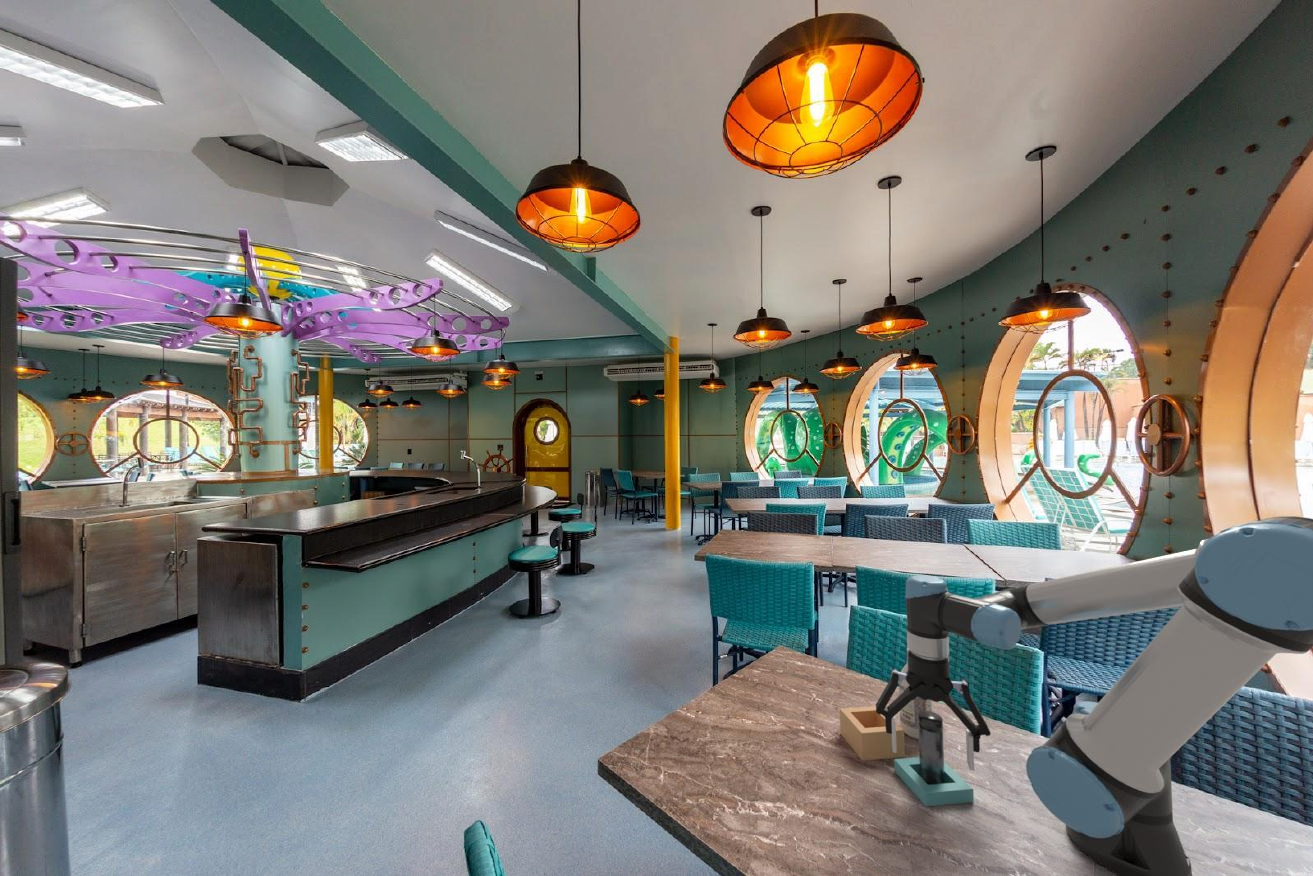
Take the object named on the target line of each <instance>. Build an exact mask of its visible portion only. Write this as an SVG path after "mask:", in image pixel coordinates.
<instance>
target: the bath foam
mask: <svg viewBox="0 0 1313 876" xmlns="http://www.w3.org/2000/svg"><path fill="white" fill-rule="evenodd" d="M908 650H909V649H908V647H906V661H907V662H906V664H905V665H904V666H903V668H902V669H901V671H900V672H902V673H905V674H906V673H907V671H908V653H907V652H908ZM908 686H909V684H908V683H907V681H906V680H903V681H902V683H898V697H899V696H900V695H901V694H902V693H903V692H904V691H905V690H906V688H907V687H908ZM932 702H933V701H932V700H924V699H921V698H920V697H918V696H917V697H916V698H915V699H914V700H911V701H910V702H909V703H908V704H907V705H906V706H905V707H904V708H902V709H901V710H900V711H899V723H900V724H899V726H900V727H901V728H902V729H903V730H904V735H907V736H908V737H910V738H913V739H915V740H916V739H917V740H919V736H918V712H920V711H930V712H933V705H932Z"/></svg>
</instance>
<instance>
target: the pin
mask: <svg viewBox="0 0 1313 876" xmlns="http://www.w3.org/2000/svg"><path fill="white" fill-rule="evenodd" d="M943 725H944V723H943V718H942V716H941V715H939V714H938V713H936V712H933V711H932V712H930V711H920V712H918V736H919V739H918V757H919V767H920V777H921V778H922V779H923V780H924V781H925V782H926V783H927V784H928V785H933V784H945V779H944V762H945V756H944V755H945V753H944V730H943V729H944V727H943Z"/></svg>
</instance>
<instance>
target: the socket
mask: <svg viewBox="0 0 1313 876" xmlns="http://www.w3.org/2000/svg"><path fill="white" fill-rule="evenodd" d="M839 722H840V725H839V727H840V730H839V731H840V735H841V736H842V737H843V739H844V740H845V741H846V742H847V744H848V746H850V747H851V749H852V750H853V751H854V752H855V754H857V756H858V757H859V759H861V760H862V761H874V760H884V759H885V760H887V759H888V760H889V759H902V758H905V757H906V751H905V750H906V749H905V747H906V746H905V733H904V730H903V729H902V728H901V727H900V724H898V723H897V722H896V749H897V753H894V752H893V751H892V734H889V733H887V732H886V724H885V717H884V716H883V715H881V714H878V713H877V712H876V705H873V706H861V707H860V706H857V707H847V708H846V707H842V708H839Z"/></svg>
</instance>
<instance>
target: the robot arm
mask: <svg viewBox="0 0 1313 876" xmlns="http://www.w3.org/2000/svg"><path fill="white" fill-rule="evenodd" d="M948 589H949V588H948V584H947V582H946V581H945V580H944V579H942V578H940V577H936V576H934V575H933V576H931V575H926V574H925V575H923V574H921V575H920V574H919V575H917V574H916V575H911V576H909V577H908V578H907V579H906V580H905V596H904V598H905V608H906V609H905V611H906V643H907V644H906V645H907V646H906V648H908V649H909V650H908V652H907V651H906V654H907V653H908V671H907V673H906V674H905V673H902V672H901V671H899V670H898V669H897V668H892V669H891V673H890V674H891V675H890V678H889V680H888V682H887V684H886V686H885V688H884V690H883V691H882V693H881V695H880V697H879V698H878V700H877V702H876V704H875V706H876V712H877V713H878V714H881V715H883V716H884V717H885V724H886V732H887V733H889V734H892V751H893V752H894V753H897V749H896V723H897V722H896V721H897V720H896V715H897V714H898V713H900V710H901V709H902V708H904V707H905V706H906V705H907V704H908V703H909V702H910V701H911V700H914V699H915V698H916V697H917V696H918V697H920V698H921V699H924V700H932V702H934V703H935V702H936V703H939V702H941V701H943V703H944V704H945V705H946V706H947V707H948V708H949V709H950V710H951V711H952V712H953V713H954V714H955V716H956V717H957V718H958V719H959V721H961V723H962V724H963V725H964V726H965V728H966V729H965V734H966V735H965V736H966V737H965V738H966V739H965V741H966V745H965V746H966V763H967V765H968V769H969V771H973V772H974V771H975V753H978V754H979V753H980V751H981V748H980V747H981V746H980V744H981V743H980V740H981V736H987V737H990V736H991V731H990V728H989V726H988V724H987V723H986V721H985V719H984V717H983V715H982V714H981V712H980V710H979V708H978V707H977V705H976V703H975V701H974V699H973V698H972V695H971V693H970V692H971V691H970V687H969V684H968V682H967V680H966V679H960V680H959V681H958V680H957V681H955V680H951V670H950V669H951V668H950V667H951V666H950V658H949V655H950V641H949V638H950V637H949V633H951V634H954V635H956V636H959V637H963V638H965V639H968V640H971V641H974V642H977V643H980V644H982V645H984V646H987V647H993V648H996V649H1000V650H1004V651H1006V650H1012V649H1014V648H1015V647H1016V644H1017V643H1018V642H1019V641H1020V639H1021V635H1022V630H1025V629H1031V628H1040V627H1046V626H1050V625H1056V624H1065V623H1071V622H1078V621H1085V620H1092V619H1099V618H1100V619H1101V618H1106V617H1112V616H1120V615H1127V614H1129V615H1130V614H1135V613H1136V614H1137V613H1143V612H1149V611H1156V610H1163V609H1171V608H1177V607H1178V608H1179V607H1180V608H1179V609H1178V610H1177V611H1176V613H1175V614H1174V615H1173V616H1172V617H1171V618H1170V619H1169V621H1168V622H1167V623H1166V624H1165V625H1164V626H1163V628H1162V629H1161V630H1160V631H1159V632H1158V634H1156V636H1155V637H1154V638H1153V639H1152V640H1151V642H1149V644H1148V645H1147V646H1146V648H1144V649H1143V651H1141V653H1140V655H1138V656H1137V657H1136V659H1135V660H1133V662H1132V664H1131V665H1130V666H1129V667H1128V668H1127V669H1126V670H1125V672H1124V673H1122V675H1121V676H1120V677H1119V678H1118V680H1117V681H1116V682H1115V683H1114V684H1113V685H1112V687H1111V688H1110V689H1109V690H1108V691H1107V692H1106V693H1105V695H1104V696H1103V697H1102V698H1101V699H1100V700H1099V701H1098V702H1096V701H1088V700H1087V701H1082V700H1081V701H1078V702H1075V704H1074V705H1073V711H1072V713H1071V714H1070V715H1068V716H1067V718H1066V719H1065V720H1064V721H1062V724H1061V725H1060V726H1059V727H1058V728H1057V729H1056V730H1055V731H1054V733H1053V734H1052V735H1051V736H1050V737H1049V738H1048V739H1047V741H1046V742H1045V743H1043V744H1042V745H1040V746H1037V747H1034V748H1033V749H1032V751H1031V753H1030V754H1029V755H1028V757H1027V760H1026V764H1025V770H1026V775H1027V778H1028V780H1029V782H1030V784H1031V788H1032V790H1033V792H1034V793H1035V795H1036V796H1037V798H1038V799H1039V801H1040V802H1041V803H1042V804H1043V806H1045V808H1046V809H1047V810H1048V811H1049V812H1050V813H1051V814H1052V815H1053V816H1054V817H1055V818H1056V819H1057V820H1059V821H1060V822H1062V823H1063V824H1064V825H1065V829H1066V833H1067V834H1068V836H1069V839H1070V840H1071V841H1072V842H1073V843H1074V844H1075V846H1076V847H1078V849H1079V848H1080V849H1079V850H1081V852H1083V853H1084V855H1086V856H1087V855H1088V856H1087V857H1088V858H1090V859H1091V858H1092V859H1091V860H1093V861H1094V862H1095V861H1096V863H1097V862H1098V863H1099V865H1100V866H1101V865H1103V866H1104V868H1105V869H1106V868H1107V869H1106V870H1108V871H1110V872H1111V873H1113V874H1115V875H1117V876H1119V875H1120V876H1193V873H1192V863H1191V860H1190V858H1189V855H1188V854H1187V851H1186V850H1185V849H1184V847H1183V844H1182V842H1181V839H1180V836H1179V833H1178V830H1177V828H1176V825H1175V824H1174V817H1173V793H1172V791H1173V789H1172V770H1171V769H1172V768H1171V758H1172V756H1173V755H1174V754H1176V752H1177V751H1179V750H1180V749H1181V747H1182V746H1183V745H1185V744H1186V742H1188V740H1190V739H1191V738H1192V737H1193V736H1194V735H1195V734H1196V733H1197V732H1198V731H1199V730H1200V729H1201V728H1202V727H1203V726H1204V725H1205V724H1206V723H1207V722H1209V720H1210V719H1211V718H1212V717H1213V716H1214V715H1215V714H1217V712H1218V711H1220V709H1221V708H1222V707H1223V706H1224V705H1225V704H1226V703H1227V702H1229V701H1230V700H1231V698H1233V696H1235V695H1236V694H1237V693H1238V692H1239V691H1240V690H1241V689H1242V688H1243V687H1244V686H1245V685H1246V684H1247V683H1248V682H1249V681H1250V680H1251V679H1252V678H1253V677H1254V676H1255V675H1256V674H1257V673H1258V672H1259V671H1260V670H1261V669H1262V668H1263V667H1264V666H1266V664H1267V663H1268V662H1270V661H1271V660H1272V659H1273V658H1274V656H1276V655H1277V654H1294V655H1295V654H1296V655H1298V654H1300V655H1302V654H1303V655H1304V654H1306V653H1308V652H1309V651H1311V649H1312V648H1313V518H1310V517H1305V516H1304V517H1303V516H1302V517H1301V516H1294V515H1291V516H1286V515H1285V516H1274V517H1273V516H1272V517H1268V518H1264V519H1258V520H1256V521H1253V522H1246V523H1242V524H1237V525H1233V526H1231V527H1228V528H1226V529H1223V530H1221V531H1219V533H1216V534H1215V535H1212V536H1211V537H1209V538H1207V539H1203V540H1200V543H1199V545H1198V547H1197V548H1193V549H1190V550H1189V549H1188V550H1185V551H1179V552H1175V553H1170V554H1165V555H1160V556H1156V557H1152V558H1147V559H1143V560H1138V561H1134V562H1129V563H1123V564H1118V565H1114V566H1109V567H1106V568H1100V569H1095V570H1091V571H1087V572H1082V573H1076V574H1073V575H1067V576H1063V577H1059V578H1053V579H1049V580H1045V581H1039V582H1034V583H1031V584H1027V585H1023V586H1012V587H1008V588H1004V589H1002V590H1000V591H996V592H993V593H989V594H985V595H983V596H979V597H976V598H974V597H973V598H972V597H968V596H964V595H958V594H956V593H952V592H949V590H948ZM903 680H906V681H907V683H908V684H909V686H908V687H907V688H906V690H905V691H904V692H903V693H902V694H901V695H900V696H899V695H898V696H897V697H896V698H895V699H894V700H893V701H892V702H891V703H890V704H889V702H890V700H891V698H892V697H893V694H894V693H895V691H896V690H897V687H898V686H899V683H902V681H903ZM953 689H955V690H956V691H957V692H958V694H960V695H962V696H963V699H964V701H965V703H966V705H967V706H968V708H969V711H971V713H972V716H973V717H974V718H975V720H976V723H977V724H975V722H974V721H973V720H972V719H971V718H970V717H969V715H968V714H967V713H966V712H965V711H964V710H963V709H962V708H961V706H960V705H959V704H958V703H957V702H956V701H955V699H954V698H953V696H952V695H951V694H950V693H951V692H952V691H953ZM1098 863H1097V864H1098ZM1103 866H1102V867H1103Z"/></svg>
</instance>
